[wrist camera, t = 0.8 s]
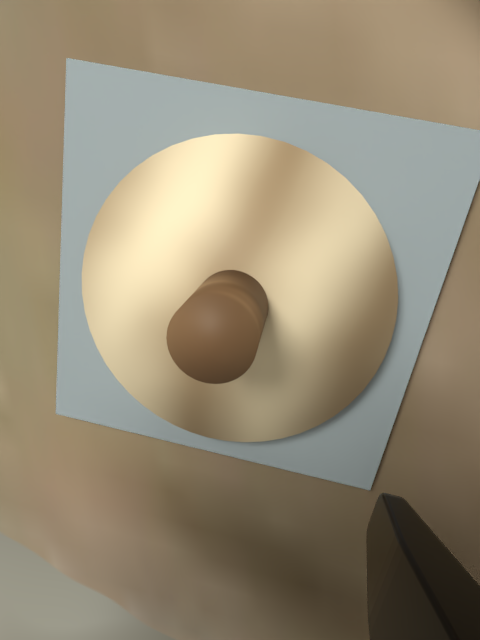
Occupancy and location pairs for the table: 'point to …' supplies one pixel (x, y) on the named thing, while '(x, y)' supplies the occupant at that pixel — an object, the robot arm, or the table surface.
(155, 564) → the table surface
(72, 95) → the mat
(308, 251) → the lid
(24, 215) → the table surface
